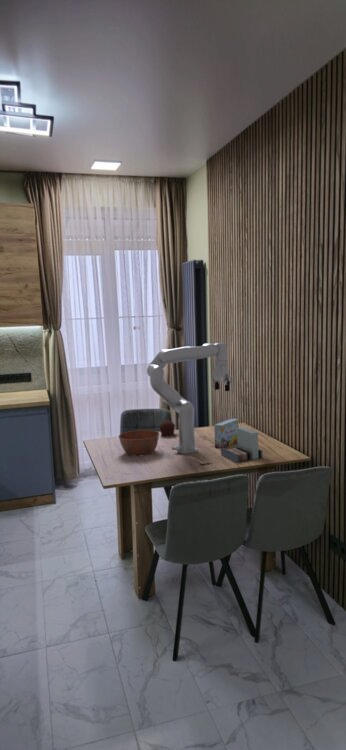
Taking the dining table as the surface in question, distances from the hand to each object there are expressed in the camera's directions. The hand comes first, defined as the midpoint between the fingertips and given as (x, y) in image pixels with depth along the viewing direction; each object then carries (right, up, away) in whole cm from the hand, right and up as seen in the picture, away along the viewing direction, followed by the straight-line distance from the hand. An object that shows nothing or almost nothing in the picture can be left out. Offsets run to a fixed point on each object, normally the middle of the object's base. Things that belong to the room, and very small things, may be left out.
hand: (222, 390), depth 317 cm
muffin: (-34, -33, +42) cm, 64 cm away
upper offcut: (+6, -36, -24) cm, 44 cm away
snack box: (+4, -35, +9) cm, 37 cm away
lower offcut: (+6, -38, -24) cm, 45 cm away
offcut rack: (+9, -39, -22) cm, 46 cm away
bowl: (-51, -39, +1) cm, 64 cm away
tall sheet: (+13, -37, -21) cm, 45 cm away
